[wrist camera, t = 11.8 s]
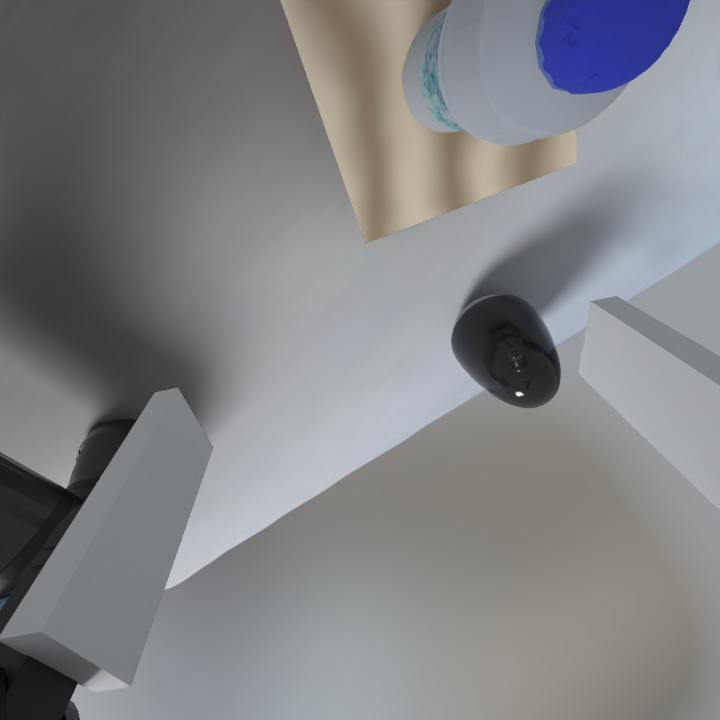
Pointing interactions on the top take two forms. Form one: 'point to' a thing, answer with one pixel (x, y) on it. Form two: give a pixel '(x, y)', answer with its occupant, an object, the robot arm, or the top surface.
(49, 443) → the top surface
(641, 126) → the top surface
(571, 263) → the top surface
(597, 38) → the bottle
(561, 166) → the footstool
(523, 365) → the pump dispenser
